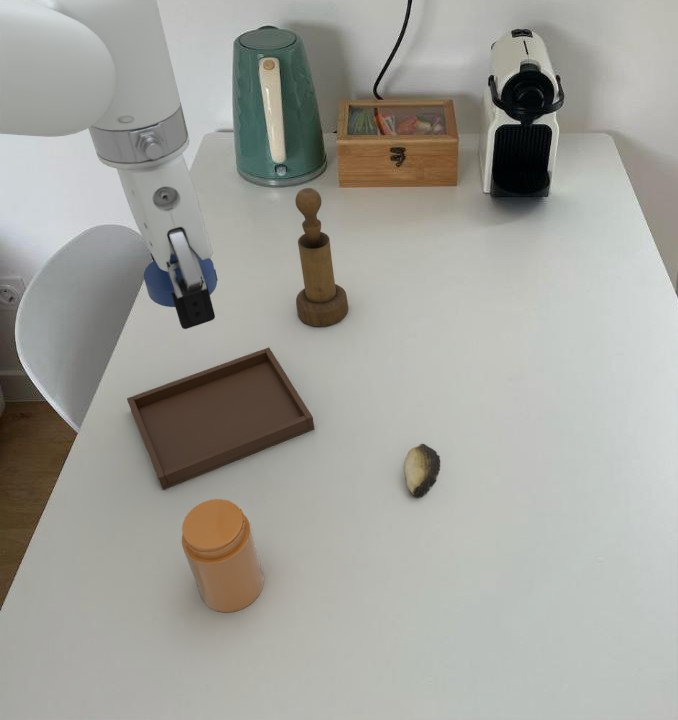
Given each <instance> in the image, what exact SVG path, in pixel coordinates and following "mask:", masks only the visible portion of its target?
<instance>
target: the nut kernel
mask: <svg viewBox="0 0 678 720" xmlns="http://www.w3.org/2000/svg"><path fill="white" fill-rule="evenodd" d="M437 453H438V452H437V451H436V450H435V449H434V448H432V447H430V446H429V445H427V444H425V443H420V444H418V445H417V446H415V447H412V448H411V449H409V450H408V452H407V454H406V456H405V458H404V463H403V472H404V477H405V484H406V487H407V488H408V491H409V493H411V495H413V496H416V497H417V498H421V497H423V496H424V495H427V494H428V492H429V491H430V488H431V487H433V486H434V485H435V483H436V482H437V476H438V475H439V472H440V471H441V468H440V467H441V459H440V457H441V456H440V455H438V454H437Z"/></svg>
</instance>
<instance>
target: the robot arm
mask: <svg viewBox="0 0 678 720" xmlns="http://www.w3.org/2000/svg"><path fill="white" fill-rule="evenodd" d="M168 47H169V46H168V43H167V38H166V35H165V31H164V26H163V22H162V18H161V14H160V9H159V5H158V1H157V0H0V135H12V136H13V135H14V136H27V137H28V136H29V137H45V138H46V137H47V138H50V137H51V138H57V137H65V136H66V137H67V136H70V135H75V134H78V133H81V132H83V131H86V130H88V131H89V135H90V138H91V140H92V144H93V147H94V150H95V153H96V156H97V159H98V161H99V162H101V163H102V165H106V166H107V167H109V168H113V169H116V171H117V175H118V177H119V180H120V184H121V187H122V190H123V193H124V196H125V199H126V202H127V204H128V207H129V210H130V212H131V215H132V217H133V219H134V222H135V224H136V226H137V229H138V231H139V233H140V234H141V237H142V238H143V241H144V243H145V245H146V247H147V248H148V250H149V252H150V256H151V260H152V261H154V260H155V261H156V263H157V265H158V266H159V268H160V269H161V270H164V271H167V272H168V275H169V278H170V281H171V284H172V287H173V290H174V293H171V294H172V297H173V301H174V304H175V307H174V308H175V311H176V314H177V317H178V322H179V324H180V326H181V328H182V329H183V330H188V329H190V328H191V329H192V328H194V327H197V326H199V325H202V324H206V323H209V322H212V321H213V320H214V319H215V318H216V314H215V311H214V306H213V302H212V297H211V295H210V294H209V290H208V286H207V284H206V282H205V280H204V277H203V274H202V271H201V268H200V265H199V262H198V258H197V256H196V254H197V255H198V256H199V257H200V258H201V259H202V260H205V259H212V258H213V254H214V251H213V247H212V243H211V240H210V237H209V234H208V233H209V232H208V230H207V227H206V226H207V225H206V223H205V220H204V215H203V212H202V209H201V205H200V202H199V199H198V194H197V191H196V189H195V185H194V183H193V182H194V181H193V179H192V176H191V174H190V173H191V172H190V171H189V168H188V164H187V163H186V162H187V161H186V159H185V157H184V155H183V153H185V151H186V150H187V148H188V147H189V145H190V137H189V132H188V127H187V123H186V118H185V115H184V111H183V107H182V103H181V98H180V93H179V90H178V85H177V82H176V77H175V72H174V68H173V64H172V59H171V56H170V51H169V48H168ZM195 252H196V253H195ZM172 255H175V256H176V259H177V260H176V261H173V262H170V256H172ZM177 269H181V272H182V275H183V279H180V281H179V282H178V279H177V276H176V273H175V270H177Z"/></svg>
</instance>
